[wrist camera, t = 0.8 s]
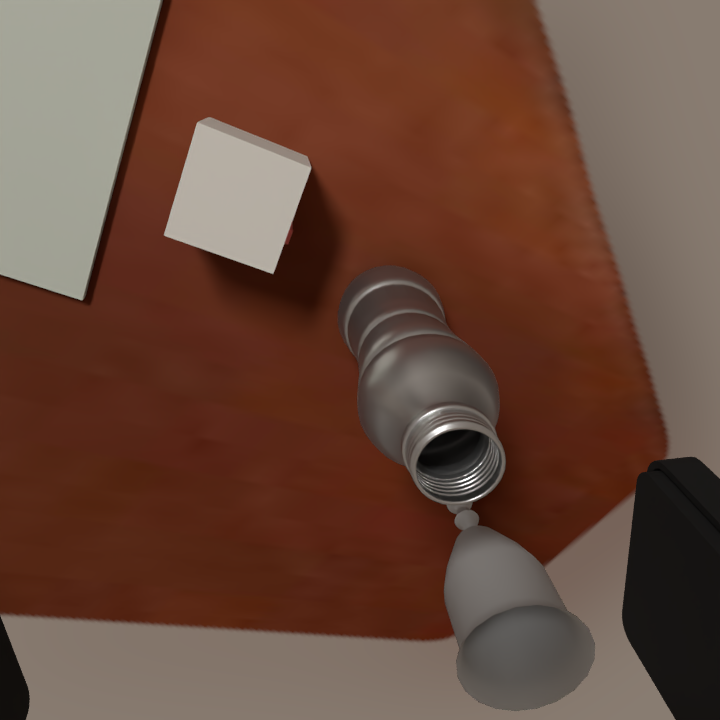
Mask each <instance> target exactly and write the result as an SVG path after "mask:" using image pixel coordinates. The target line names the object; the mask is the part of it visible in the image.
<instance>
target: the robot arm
mask: <svg viewBox="0 0 720 720" xmlns="http://www.w3.org/2000/svg"><path fill="white" fill-rule="evenodd" d="M622 620H623V626H624V630H625V632H626V635H627V638H628V640H629V642H630V643H631V645H632V647H633V649H634V650H635V652H636V653H637V655H638V657H639V659H640V660H641V662H642V664H643V665H644V667H645V669H646V670H647V672H648V674H649V676H650V677H651V679H652V681H653V682H654V684H655V686H656V687H657V689H658V691H659V692H660V694H661V696H662V698H663V699H664V701H665V702H666V704H667V706H668V708H669V709H670V711H671V713H672V714H673V716H674V718H675V719H676V720H720V479H719V478H718V477H717V476H716V475H715V474H714V473H713V472H712V471H711V470H710V469H709V468H708V467H707V466H706V465H705V464H703V463H702V462H701V461H700V460H698V459H697V458H695V457H684V458H675V459H666V460H658V461H654V462H652V463H651V464H650V465H649V467H648V470H647V472H643V473H641V474H640V475H639V476H638V479H637V484H636V493H635V502H634V511H633V520H632V529H631V538H630V547H629V556H628V565H627V574H626V583H625V591H624V600H623V609H622ZM29 700H30V698H29V690H28V686H27V684H26V681H25V679H24V676H23V674H22V671H21V668H20V666H19V663H18V661H17V658H16V655H15V653H14V651H13V648H12V645H11V642H10V640H9V637H8V635H7V632H6V630H5V627H4V624H3V622H2V619H1V617H0V720H26V717H27V714H28V709H29Z"/></svg>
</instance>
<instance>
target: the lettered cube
mask: <svg viewBox="0 0 720 720" xmlns="http://www.w3.org/2000/svg"><path fill="white" fill-rule="evenodd" d="M310 171H311V165H310V162H309V160H308V157H307V156H305V155H302V154H300V153H298V152H295V151H293V150H290V149H288V148H285V147H283V146H280V145H278V144H275V143H273V142H270V141H268V140H265V139H263V138H260V137H258V136H255V135H253V134H250V133H248V132H245V131H243V130H240V129H238V128H236V127H233V126H231V125H228V124H226V123H223V122H221V121H218V120H216V119H213V118H211V117H208V118H206V119H204V120H201V121H199V122H197V125H196V128H195V132H194V135H193V139H192V142H191V145H190V149H189V152H188V156H187V159H186V162H185V166H184V169H183V172H182V176H181V179H180V183H179V186H178V189H177V193H176V196H175V200H174V203H173V206H172V210H171V213H170V216H169V220H168V223H167V227H166V230H165V233H164V236H167V237H170V238H172V239H175V240H178V241H181V242H184V243H187V244H189V245H192V246H195V247H198V248H201V249H204V250H206V251H209V252H212V253H215V254H218V255H221V256H223V257H226V258H229V259H232V260H235V261H238V262H240V263H243V264H246V265H249V266H252V267H255V268H257V269H260V270H263V271H266V272H269V273H272V274H273V273H274V271H275V268H276V265H277V262H278V259H279V257H280V254H281V251H282V248H283V246H284V243H285V244H289V241H290V238H291V235H292V233H293V224H292V221H293V218H294V215H295V213H296V210H297V207H298V204H299V201H300V199H301V196H302V193H303V190H304V187H305V184H306V182H307V179H308V176H309V173H310Z"/></svg>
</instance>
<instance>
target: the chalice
mask: <svg viewBox="0 0 720 720" xmlns="http://www.w3.org/2000/svg"><path fill="white" fill-rule="evenodd" d="M410 474H411V473H410ZM411 476H412V475H411ZM471 507H472V502H471V503H468V504H463V505H447V508H448V510H449V511H450V512H452V513H454V514H457V516H456V518H455V524H456V526H457V527H458V528H459V529H461V530H463V531H462V532H461V533H460V534H459V536H458V537H457V539H456V542H455V544H454V547H453V550H452V553H451V556H450V559H449V562H448V566H447V570H446V578H445V585H444V597H445V604H446V608H447V611H448V614H449V617H450V620H451V624H452V627H453V630H454V633H455V636H456V639H457V642H458V646H459V652H458V656H457V660H456V663H457V676H458V679H459V681H460V682H461V684H462V686H463V688H464V689H465V691H466V692H467V693H468V694H469V695H471V696H472V697H473V698H474V699H476V700H477V701H478V702H480V703H482V704H485V705H488V706H490V707H493V708H495V709H502V710H511V711H520V710H528V709H537V708H540V707H542V706H545V705H548V704H551V703H554V702H556V701H558V700H560V699H561V698H563V697H564V696H566V695H567V694H569V693H571V692H572V691H574V690H575V689H576V688H577V686H578V685H579V684H580V683H581V682H582V681H583V680H584V679H585V678H586V677H587V675H588V673H589V671H590V668H591V666H592V664H593V661H594V656H595V642H594V640H593V638H592V635H591V633H590V630H589V628H588V627H587V626H586V625H585V624H584V623H583V622H582V621H581V620H580V619H579V618H578V617H577V616H575V615H574V614H572V613H570V612H569V611H567V609H566V607H565V605H564V603H563V602H562V600H561V598H560V596H559V594H558V592H557V590H556V589H555V587H554V585H553V583H552V581H551V579H550V578H549V576H548V574H547V572H546V570H545V568H544V567H543V565H542V564H541V563H540V562H539V561H538V560H537V559H536V558H535V557H534V556H533V555H531V554H530V553H529V552H528V551H526V550H525V549H524V548H523V547H521V546H520V545H519V544H518V543H516V542H515V541H513V540H511V539H509V538H507V537H505V536H504V535H502V534H500V533H498V532H496V531H494V530H492V529H490V528H488V527H486V526H478V525H477V524H478V522H479V516H478V514H477V513H476V512H474V511H472V510H470V508H471Z"/></svg>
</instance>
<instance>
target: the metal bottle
mask: <svg viewBox="0 0 720 720" xmlns="http://www.w3.org/2000/svg"><path fill="white" fill-rule="evenodd" d="M338 326H339V331H340V334H341V336H342V338H343V340H344V342H345V344H346V345H347V347H348V348H349V350H350V351H351V353H352V354H353V355H354V356H355V357H356V359H357V361H358V367H359V383H358V392H357V405H358V414H359V419H360V423H361V426H362V428H363V430H364V432H365V434H366V436H367V437H368V438H369V439H370V441H371V442H372V443H373V444H374V445H375V446H376V447H377V448H378V449H379V450H380V451H381V452H382V453H383V454H384V455H385V456H387V457H388V458H389V459H391V460H393V461H394V462H396V463H398V464H400V465H403V466H406V467H407V469H408V471H409V472H410V473H411V475H412V478H413V480H414V482H415V484H416V486H417V487H418V488H419V490H420V491H421V492H422V493H423V494H424V495H425V496H426V497H428V498H429V499H431V500H433V501H435V502H438V503H441V504H446V505H463V504H468V503H471V502H474V501H477V500H479V499H481V498H483V497H484V496H486V495H487V494H489V493H490V492H491V491H492V490H493V489H494V488H495V487H496V486H497V485H498V483H499V482H500V480H501V478H502V476H503V473H504V471H505V464H506V459H505V453H504V449H503V447H502V444H501V442H500V441H499V439H498V438H497V434H496V431H495V426H496V423H497V420H498V416H499V407H500V404H499V391H498V384H497V381H496V378H495V376H494V373H493V372H492V370H491V368H490V367H489V365H488V364H487V363H486V362H485V361H484V360H483V358H482V357H481V356H480V355H479V354H478V353H477V352H476V351H475V350H474V349H473V348H471V347H470V346H469V345H467V344H466V343H465V342H463V341H462V340H461V339H460V338H458V337H457V336H456V335H455V334H454V333H453V332H452V331H451V330H450V329H449V327H448V326H447V324H446V321H445V314H444V309H443V305H442V302H441V300H440V297H439V294H438V293H437V291H436V290H435V288H434V287H433V286H432V285H431V284H430V283H429V282H428V281H427V280H426V279H425V278H424V277H422V276H421V275H419V274H417V273H415V272H413V271H411V270H408V269H406V268H403V267H398V266H380V267H375V268H372V269H369V270H367V271H365V272H363V273H362V274H360V275H358V276H357V277H356V278H355V279H354V280H353V281H352V282H351V283H350V284H349V286H348V287H347V288H346V290H345V292H344V294H343V296H342V299H341V302H340V305H339V310H338Z"/></svg>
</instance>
